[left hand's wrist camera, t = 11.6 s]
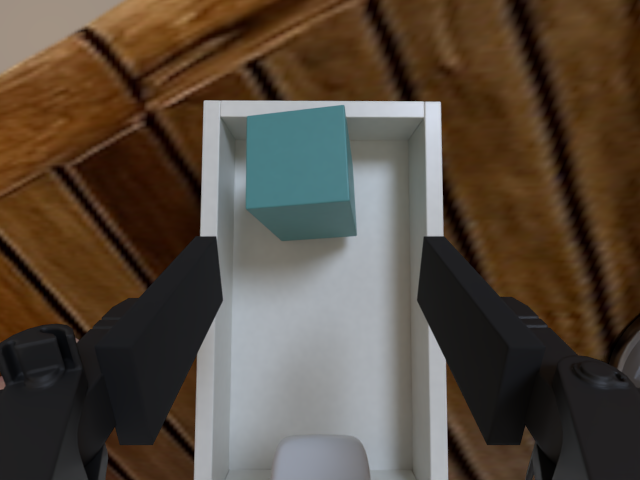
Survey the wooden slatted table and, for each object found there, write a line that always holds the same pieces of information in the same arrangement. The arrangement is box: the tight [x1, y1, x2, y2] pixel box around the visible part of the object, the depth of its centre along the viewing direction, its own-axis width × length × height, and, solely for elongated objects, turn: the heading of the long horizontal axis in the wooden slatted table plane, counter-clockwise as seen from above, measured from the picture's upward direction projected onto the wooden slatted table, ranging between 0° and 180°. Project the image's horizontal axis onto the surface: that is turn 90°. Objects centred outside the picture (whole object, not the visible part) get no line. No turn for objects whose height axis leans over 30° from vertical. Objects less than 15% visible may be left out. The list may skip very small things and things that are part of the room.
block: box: [246, 105, 357, 241], centre depth 21 cm, size 5×5×7 cm
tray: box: [194, 101, 448, 480], centre depth 23 cm, size 24×14×5 cm, turn 179°
